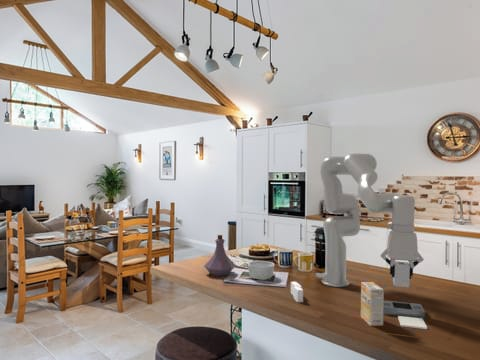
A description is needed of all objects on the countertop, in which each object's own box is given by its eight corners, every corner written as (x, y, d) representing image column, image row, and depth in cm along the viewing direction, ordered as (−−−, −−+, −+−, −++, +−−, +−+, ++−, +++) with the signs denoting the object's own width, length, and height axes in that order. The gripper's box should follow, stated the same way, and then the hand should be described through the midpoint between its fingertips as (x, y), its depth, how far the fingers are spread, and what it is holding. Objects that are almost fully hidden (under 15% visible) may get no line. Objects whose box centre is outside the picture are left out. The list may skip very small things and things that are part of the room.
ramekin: (278, 276, 183) (279, 262, 183) (266, 283, 172) (266, 268, 172) (256, 272, 190) (256, 259, 190) (242, 278, 179) (243, 264, 179)
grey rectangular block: (394, 285, 133) (395, 264, 133) (392, 281, 138) (393, 260, 138) (409, 287, 132) (409, 265, 131) (407, 283, 137) (407, 262, 136)
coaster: (400, 327, 122) (401, 324, 122) (397, 318, 130) (397, 315, 130) (427, 330, 120) (427, 327, 120) (422, 321, 127) (422, 318, 127)
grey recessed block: (382, 315, 133) (382, 307, 133) (380, 307, 140) (380, 300, 140) (424, 320, 128) (424, 311, 128) (420, 312, 136) (420, 303, 136)
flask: (217, 268, 199) (217, 231, 199) (241, 272, 189) (242, 234, 189) (197, 274, 186) (197, 235, 186) (222, 280, 176) (222, 239, 176)
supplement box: (359, 318, 130) (360, 281, 130) (372, 317, 131) (373, 281, 130) (370, 327, 122) (370, 289, 122) (383, 327, 122) (384, 288, 122)
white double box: (288, 291, 161) (288, 278, 161) (313, 295, 156) (314, 282, 156) (276, 302, 147) (276, 288, 147) (303, 306, 142) (303, 292, 142)
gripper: (378, 228, 133) (377, 277, 134) (430, 231, 128) (428, 282, 129) (377, 225, 140) (375, 272, 141) (425, 228, 135) (424, 276, 136)
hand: (401, 276), depth 135 cm, fingers closed on grey rectangular block, 5 cm apart
